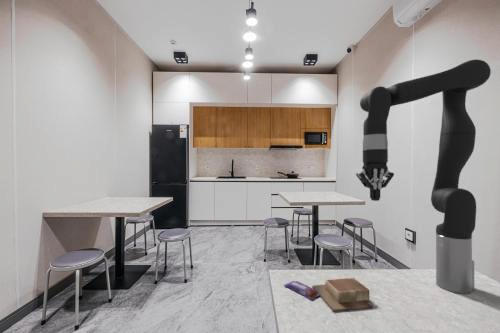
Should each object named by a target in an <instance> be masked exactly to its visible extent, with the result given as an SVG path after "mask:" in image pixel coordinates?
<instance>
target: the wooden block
mask: <svg viewBox="0 0 500 333" xmlns="http://www.w3.org/2000/svg"><path fill="white" fill-rule="evenodd" d="M324 281H325V284H324V285H325V289H326V290H327V291H328V293H329V294H330V295H331V296H332V297H333V298H334V299H335V300H336V301H337V302H338V303H341V302H352V301H363V300H366V301H369V300H370V289H369V288H368V287H366V286H365V285H364V284H363V283H361V282H360V281H359V280H358V279H356V278H355V277H351V278H350V277H349V278H348V277H347V278H333V279H325V280H324Z"/></svg>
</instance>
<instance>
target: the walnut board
mask: <svg viewBox="0 0 500 333" xmlns="http://www.w3.org/2000/svg"><path fill="white" fill-rule="evenodd" d="M311 286H312V287H311V288H313V289H315V290H316V291H317V292H318V293H319V296H318V297H320V299H321V300H323V302H324V303H325V304H326V306H327V307H328V308H329V309H330V310H331V311H332V312H334V313H335V312H336V313H337V312H344V311H346V312H347V311H356V310H357V311H358V310H365V309H366V310H367V309H373V305H372V304H371V303H370V302H369V301H368V300H363V301H352V302H341V303H338V302H337V301H336V300H335V299H334V298H333V297H332V296H331V295H330V294H329V293H328V291H327V290H326V289H325V284H316V285H311Z"/></svg>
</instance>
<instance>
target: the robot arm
mask: <svg viewBox="0 0 500 333" xmlns="http://www.w3.org/2000/svg"><path fill="white" fill-rule="evenodd" d="M491 72H492V70H491V67H490V64H488V62H486V61H485V60H483V59H470V60H467V61H465V62H462V63H460V64H459V65H457V66H455V67H452V68H450V69H447V70H443V71H440V72H437V73H434V74H430V75H426V76H421V77H418V78H413V79H410V80H406V81H402V82H398V83H395V84H392V85H390V86H388V87H384V86H382V85H381V86H376V87H374V88H372V89H371V90H369V91H368V92H366V93H365V94H363V96H361V98H360V102H359V105H360V109H361V110H362V111H364V112H367V113H368V114H367V117H366V119H364V121H363V126H362V127H363V138H362V163H363V165H362V167H361V170H360V171H358V172H355V175H356V177H357V178H358V180H359V181H360V182H361V184H362V185H363V187H364V188H368V189H369V198H370V199H371V201H373V202H376V201H377V202H379V201H380V199H381V190H382V189H383V188H386V187H387V186H388V185H389V183H390V182H391V180H392V179H393V177H394V175H395V173H394V172H391V171H390V170H388V169H389V168H388V165H387V163H388V161H389V159H388V158H389V152H388V150H389V148H388V146H389V143H388V142H389V140H388V125H387V124H388V123H387V122H388V118H389V114H390V110H391V107H394V106H398V105H403V104H407V103H411V102H414V101H415V102H416V101H419V100H421V99H424V98H427V97H430V96H433V95H436V94H439V93H441V94H442V113H441V114H442V115H441V127H440V133H439V143H438V144H439V145H438V155H437V156H438V157H437V164H436V172H435V178H434V181H433V187H432V191H431V197H430V202H431V205H432V207H433V209H434V210H435V211H438V212H440V213H441V214H444V215H443V222H442V223H440V224H437V225H436V226H435V227H436V228H435V242H436V243H435V246H436V247H435V261H436V262H435V264H436V265H435V275H436V276H435V282H436V285H437V286H439V287H440V288H442V289H444V290H447V291H449V292H453V293H457V294H471V293H472V292H473V291H474V290H475V261H474V260H473V245H472V244H473V238H472V237H473V232H474V231H475V228H476V222H477V221H476V216H477V201H476V198H475V196H474V194H473V193H472V192H471V191H469V190H467V189H464V188H459V182H460V181H459V180H460V176H461V172H462V170H463V169H464V167H465V165H466V164H467V162H468V161H469V159H470V158H471V156H472V154H473V153H474V150H475V144H476V133H477V130H476V126H475V123H474V122H473V120H472V118H471V116H470V114H468V112H467V106H466V101H467V100H466V98H467V93H468V92H469V91H470V90H473V89H476V88H478V87H481V86H482V85H485V83H486V82H487V81H488V80H489V79H490V77H491Z"/></svg>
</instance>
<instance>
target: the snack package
mask: <svg viewBox="0 0 500 333" xmlns="http://www.w3.org/2000/svg"><path fill="white" fill-rule="evenodd" d="M283 286H284V287H286V288H287V289H289V290H291V291H293V292H295V293H297V294H299V295H301V296H303V297H305V298H307V299H309V300H314V299H315V298H318V297H320V296H319V293H318V292H317V291H316V290H315V289H313V288H312V287H311V286H308V285H307V284H304V283H303V282H300V281H298V280H296V281H295V280H292V281H291V282H288V283H286V284H283Z"/></svg>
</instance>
